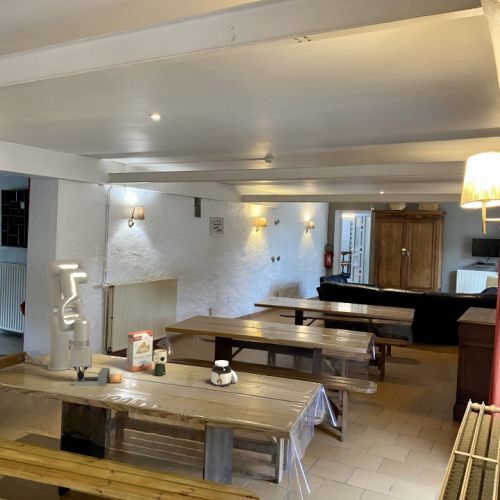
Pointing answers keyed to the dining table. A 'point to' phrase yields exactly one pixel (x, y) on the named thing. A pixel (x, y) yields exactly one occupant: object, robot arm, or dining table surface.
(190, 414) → the dining table surface
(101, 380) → the tunnel block
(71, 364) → the robot arm
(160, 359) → the character mug
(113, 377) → the grey and orange rod
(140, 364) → the cracker box
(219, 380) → the spread jar
